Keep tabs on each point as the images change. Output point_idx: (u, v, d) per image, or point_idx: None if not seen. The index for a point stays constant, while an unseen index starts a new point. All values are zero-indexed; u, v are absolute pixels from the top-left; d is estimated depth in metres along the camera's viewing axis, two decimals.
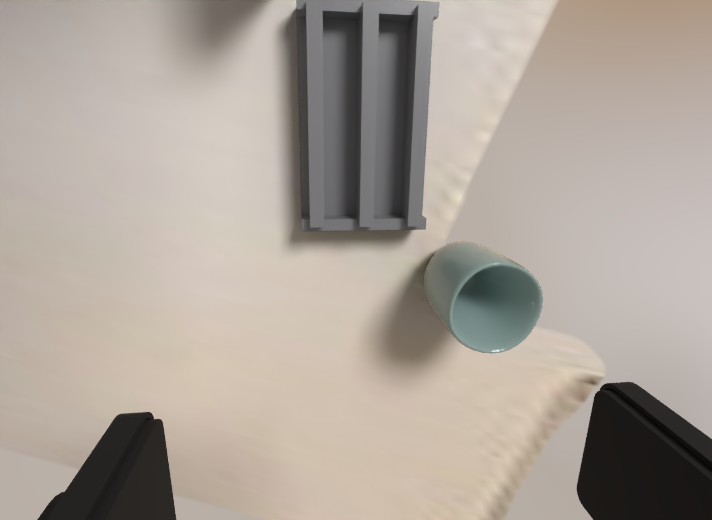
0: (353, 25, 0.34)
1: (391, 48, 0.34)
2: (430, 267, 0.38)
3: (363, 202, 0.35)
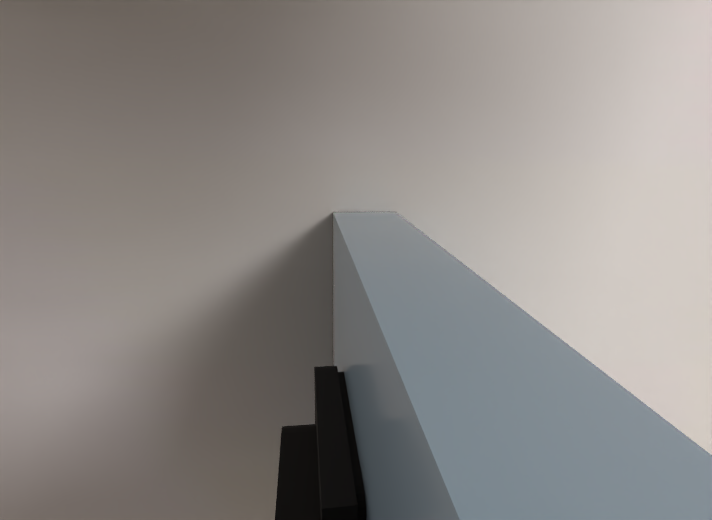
0: None
1: None
2: None
3: None
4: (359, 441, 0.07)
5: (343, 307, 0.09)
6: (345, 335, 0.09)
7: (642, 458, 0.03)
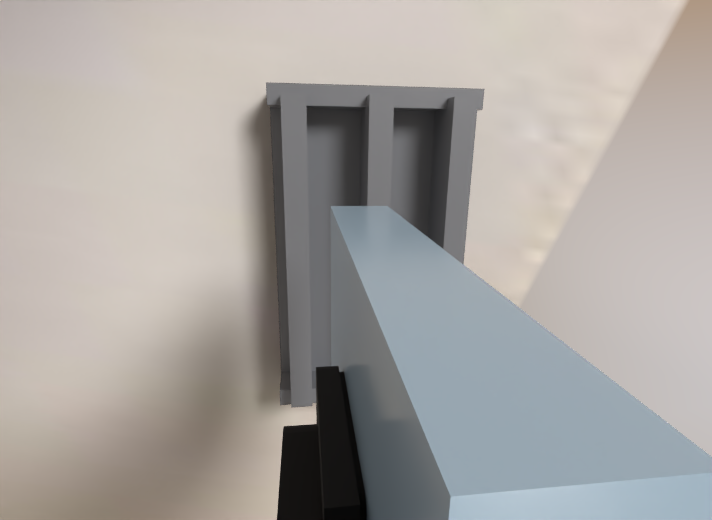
0: (354, 117, 0.23)
1: (410, 147, 0.24)
2: None
3: None
4: (350, 395, 0.08)
5: (338, 288, 0.10)
6: (340, 312, 0.10)
7: (536, 359, 0.04)
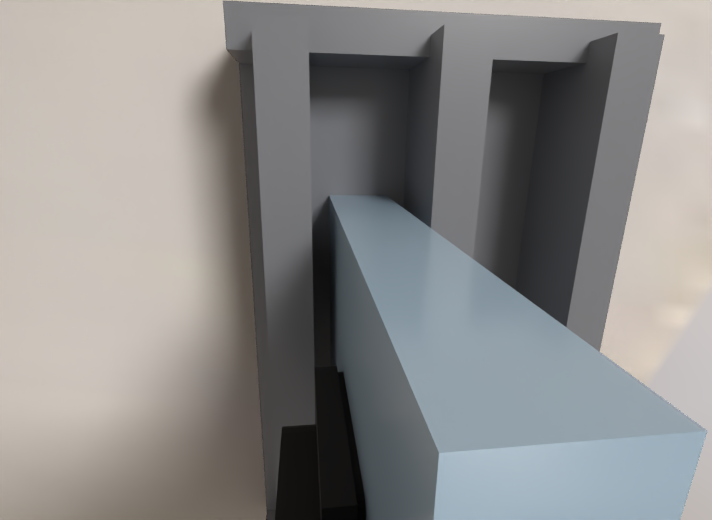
0: (397, 84, 0.12)
1: (495, 140, 0.13)
2: None
3: None
4: (349, 379, 0.08)
5: (337, 275, 0.10)
6: (339, 299, 0.10)
7: (526, 335, 0.04)
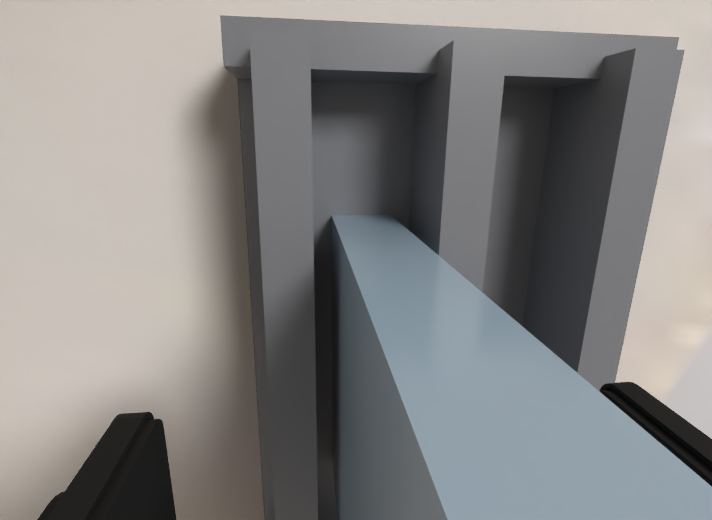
0: (402, 100, 0.12)
1: (503, 157, 0.13)
2: None
3: None
4: (354, 422, 0.07)
5: (340, 303, 0.10)
6: (342, 329, 0.09)
7: (567, 413, 0.03)
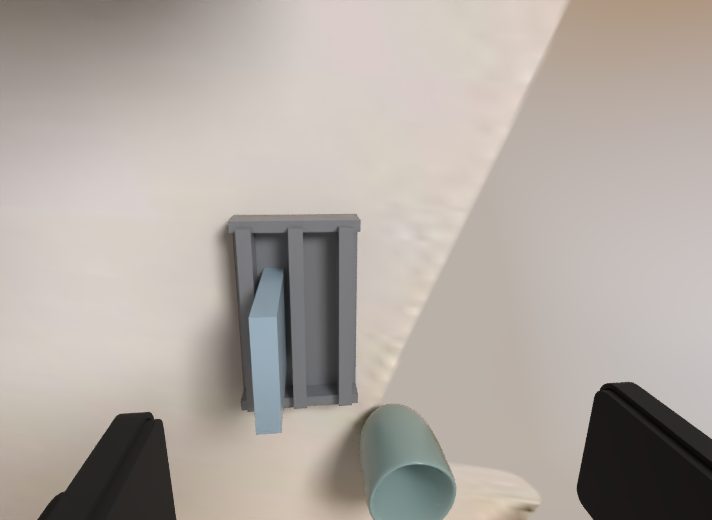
0: (285, 232, 0.37)
1: (321, 248, 0.38)
2: (363, 434, 0.41)
3: (296, 388, 0.38)
4: None
5: None
6: None
7: (270, 308, 0.28)
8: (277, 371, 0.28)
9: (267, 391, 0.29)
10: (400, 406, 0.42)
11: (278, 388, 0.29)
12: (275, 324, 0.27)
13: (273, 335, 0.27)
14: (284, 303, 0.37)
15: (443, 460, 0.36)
